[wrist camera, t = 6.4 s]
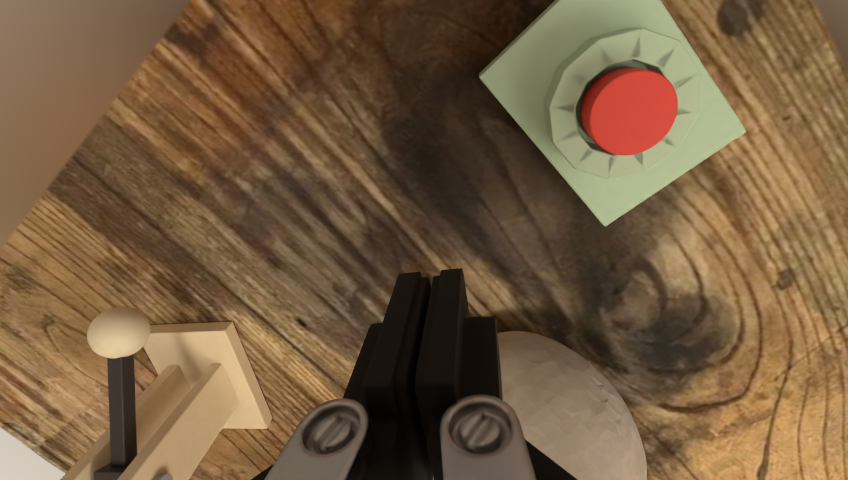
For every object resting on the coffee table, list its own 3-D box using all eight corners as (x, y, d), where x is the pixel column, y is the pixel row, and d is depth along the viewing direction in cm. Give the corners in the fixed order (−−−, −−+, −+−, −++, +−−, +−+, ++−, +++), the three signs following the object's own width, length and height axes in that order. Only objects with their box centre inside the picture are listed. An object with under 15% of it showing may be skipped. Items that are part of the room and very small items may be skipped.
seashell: (556, 271, 35) (455, 315, 24) (723, 390, 28) (694, 531, 17) (481, 389, 42) (373, 467, 30) (602, 508, 35) (522, 668, 24)
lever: (120, 304, 29) (72, 311, 26) (161, 302, 29) (117, 309, 26) (126, 490, 29) (78, 521, 26) (168, 491, 28) (125, 524, 25)
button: (564, 106, 19) (572, 112, 18) (634, 48, 18) (648, 49, 17) (608, 161, 20) (619, 171, 19) (677, 110, 19) (695, 117, 17)
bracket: (146, 324, 34) (-1, 452, 24) (232, 321, 33) (117, 454, 22) (195, 417, 39) (91, 558, 28) (273, 417, 38) (193, 565, 27)
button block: (478, 73, 23) (478, 80, 19) (607, -51, 19) (635, -70, 16) (595, 212, 25) (614, 241, 22) (724, 123, 22) (770, 139, 19)
